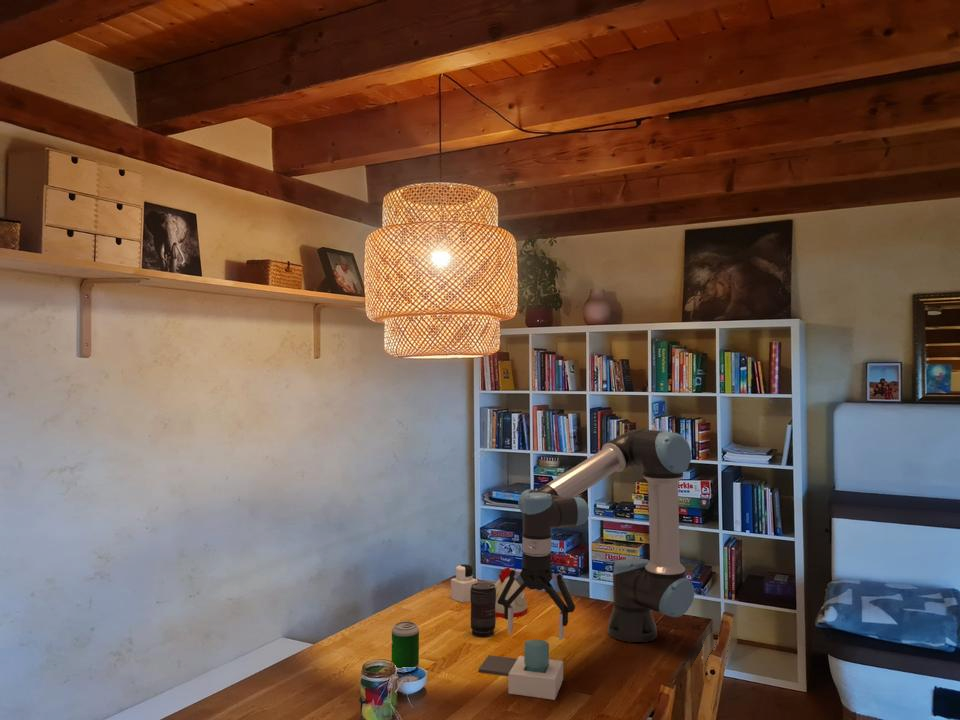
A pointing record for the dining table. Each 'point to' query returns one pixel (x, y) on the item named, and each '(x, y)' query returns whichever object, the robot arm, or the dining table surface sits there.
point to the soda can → (405, 645)
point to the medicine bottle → (462, 583)
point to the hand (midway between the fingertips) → (535, 634)
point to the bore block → (535, 680)
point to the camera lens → (483, 609)
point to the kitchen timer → (509, 595)
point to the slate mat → (497, 665)
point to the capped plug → (536, 655)
